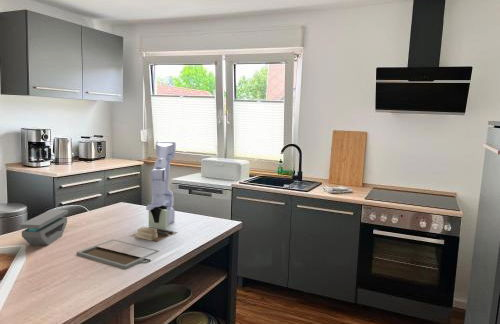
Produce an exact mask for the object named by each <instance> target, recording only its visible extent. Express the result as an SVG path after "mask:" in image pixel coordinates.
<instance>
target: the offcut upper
mask: <svg viewBox="0 0 500 324" xmlns="http://www.w3.org/2000/svg"><path fill="white" fill-rule="evenodd" d="M155 228H156V227H154V228H149V226H142V227H138V228H137V232H138V233H139V234H145V235H154V234H156V233H157V229H155Z"/></svg>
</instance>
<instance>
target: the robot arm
mask: <svg viewBox="0 0 500 324" xmlns="http://www.w3.org/2000/svg"><path fill="white" fill-rule="evenodd" d="M176 146H177V144H176V141H175V140H156V141H155V152H156V153H155V154H156V156H157V158H156V159H155V162H154V165H153V169H151V171H150V180H151V181H150V182H151V183H150V184H151V203H150V204H148V205H146V206H145V207H146V210H147V211H149V210H150V212H151V213H152V216H153V219H154V222H155V223H159V216H160V212H161V209H166V210H168V225H170V224H172V223H175V220H176V219H175V216H176V215H175V213H176V212H175V209H174V204H175V202H174V201H175V198H174V193H173V191H172V190H171V189H170V173H171V172H170V171H171V162H172V159H174V158H175V156H176V148H177V147H176ZM158 208H160V209H158Z"/></svg>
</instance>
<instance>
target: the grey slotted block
mask: <svg viewBox="0 0 500 324" xmlns="http://www.w3.org/2000/svg"><path fill="white" fill-rule="evenodd" d="M68 214H69V210H68V209H54V208H53V209H49V210H48V211H45V212H43V213H41V214H39V215H37V216H35V217H32V218H30V219H28V220H26V221H24V222H22V223H20V224H19V229H24V230H21V237H22V238H23V239H24V240H25V241H26V242H27V243H28V244H29V245H32V246H33V245H35V246H36V245H37V246H49V245H51V244H52V243H55V242H56V241H57V240H60V238H62V237H63V234H64V232H65V228H66V226H67V223H68V217H66V216H65V215H68Z"/></svg>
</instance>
